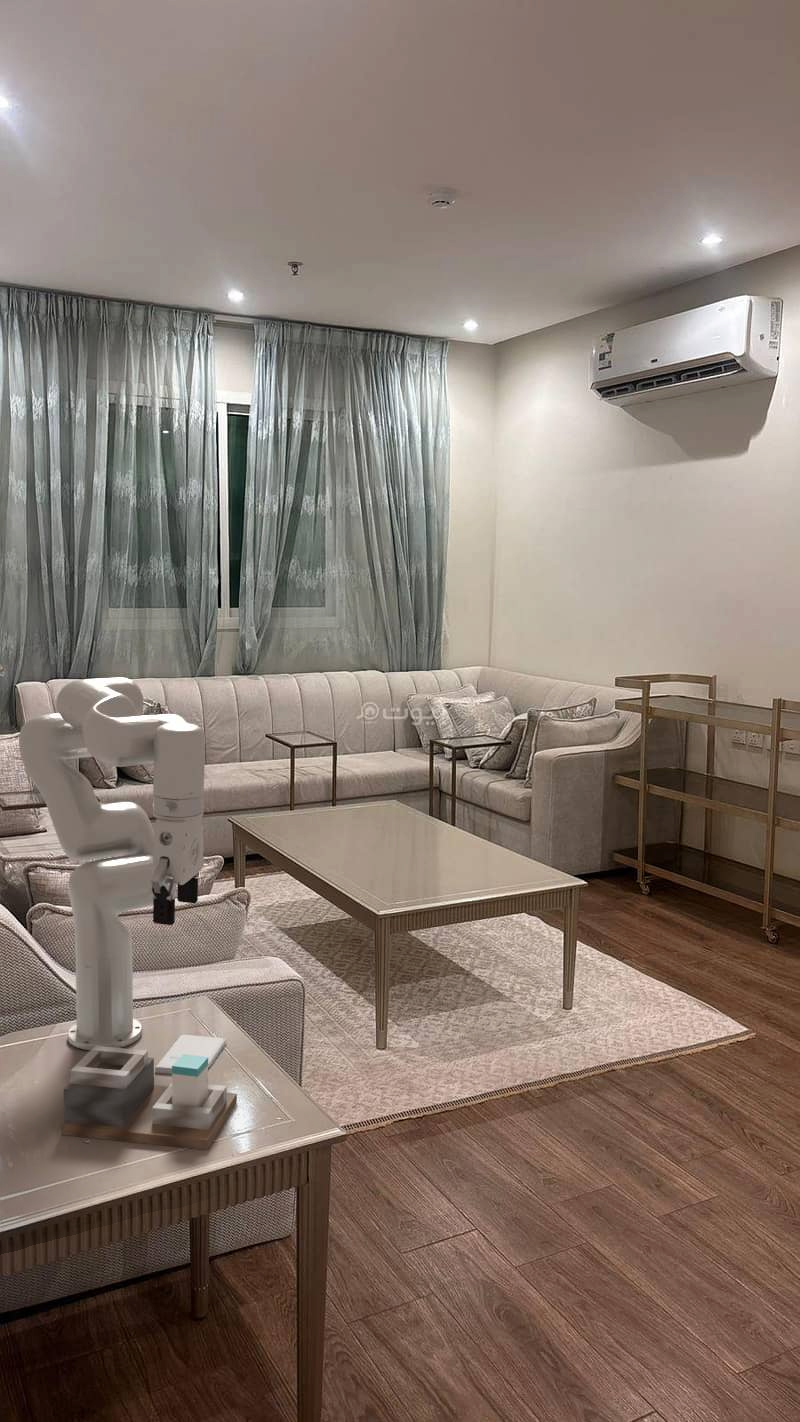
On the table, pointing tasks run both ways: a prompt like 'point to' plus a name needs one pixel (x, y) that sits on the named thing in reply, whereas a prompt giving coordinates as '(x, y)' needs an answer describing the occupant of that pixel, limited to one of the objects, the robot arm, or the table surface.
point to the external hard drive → (191, 1050)
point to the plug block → (190, 1081)
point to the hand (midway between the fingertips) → (175, 912)
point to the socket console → (137, 1103)
